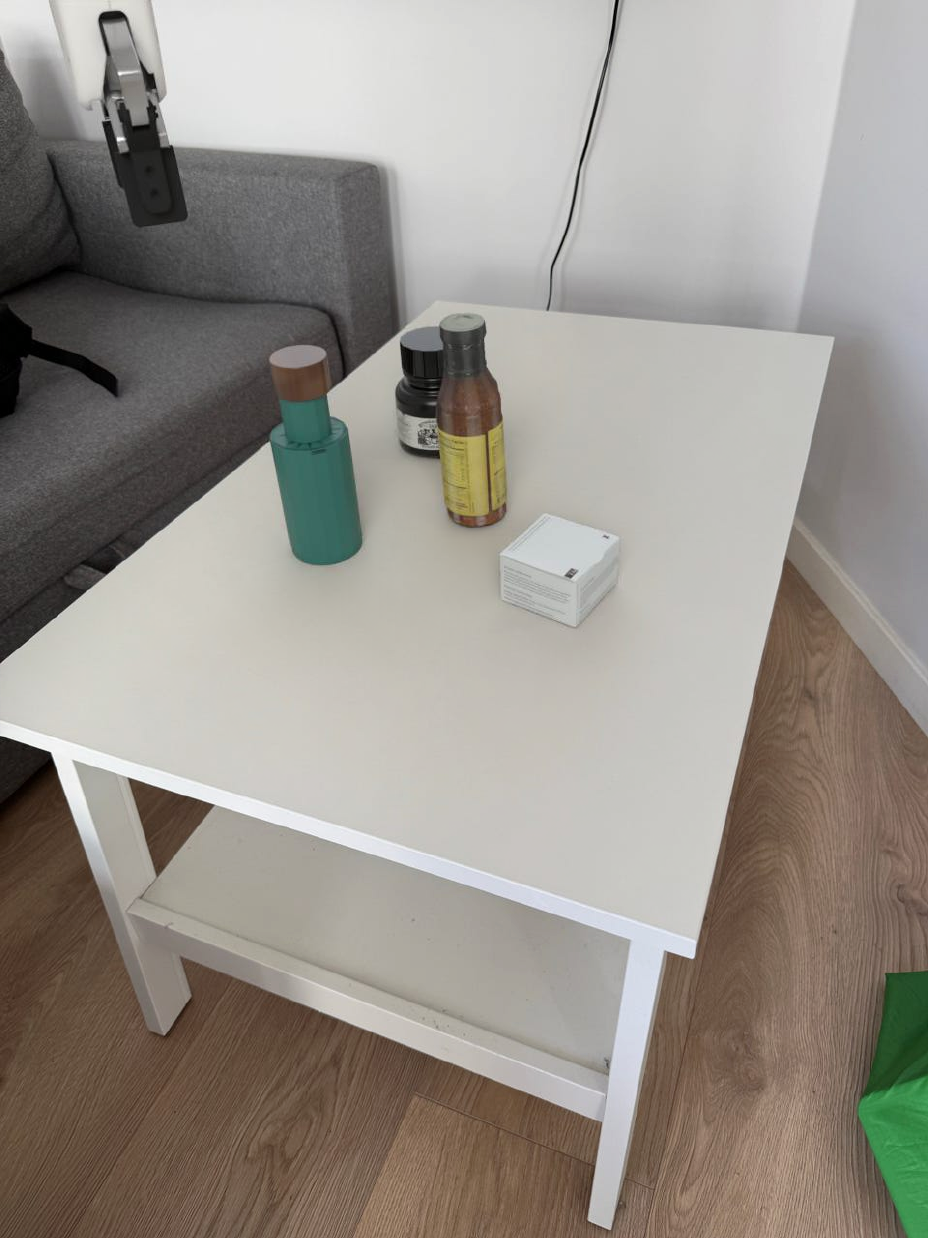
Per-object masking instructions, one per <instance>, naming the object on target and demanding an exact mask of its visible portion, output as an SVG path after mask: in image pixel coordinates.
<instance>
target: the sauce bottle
mask: <svg viewBox="0 0 928 1238" xmlns="http://www.w3.org/2000/svg"><path fill="white" fill-rule="evenodd" d="M486 324H487V323H486V319H485V318H484V317H483V316H482V315H479V314H478V313H477V314H476V313H471V312H464V313H459V312H458V313H452V314H449V315H446V316H445V317H443V318H442V319H441V320H440V322H439V324H438V326H439V328H440V338H441V341H442V342H443V353H444V374H443V379H442V384H441V387H440V390H439V392H438V396H437V405H436V423H437V432H438V441H439V451H440V457H439V461H440V469H441V470H440V471H441V482H442V491H443V492H442V493H443V500H444V505H445V507H446V510H447V515H448V517H449V518H450V519H451V520H452V521H453V522H455V523H456V524H459V525H461V526H464V527H467V528H468V527H469V528H477V527H485V526H490V525H493V524H494V523H497V522H499V521H500V520H501V519H502V518H503V517H504V516H505V514H506V512H507V498H508V489H507V488H508V487H507V471H506V470H507V469H506V454H505V453H506V452H505V451H506V450H505V436H504V435H505V434H504V417H503V416H504V415H503V413H502V398H501V393H500V391H499V386H498V381H497V380H496V379H495V377H494V376H493V375H492V374H493V373H491V371H490V369H489V368H488V366H487V365H488V363H487V359H486V344H485V338H486V335H487V325H486Z"/></svg>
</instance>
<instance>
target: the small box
mask: <svg viewBox="0 0 928 1238" xmlns="http://www.w3.org/2000/svg"><path fill="white" fill-rule="evenodd" d="M621 542H622V538H621V537H620V536H618V535H616V534H613V533H610V532H608V531H604V530H601V529H598V528H595V527H591V526H588V525H584V524H582V523H578V522H575V521H572V520H569V519H565V518H562V517H559V516H557V515H553V514H550V513H547V512H544V513H542V514H541V515H540V516H539V517H538V518H537V519H536V520H535V521H534V522H532V524H530V526H528V527H527V528H526V529H525V530H524V531H523V532H522V533H521V534H520V535H518V536H517V537H516V539H514V540H513V541H512V542H511V543H510V544H509V545H508V546H507V547H505V548H504V549H503V550H502V551H501V552H500V553H499V554H498V555H499V591H500V592H499V593H500V594H499V595H500V600H501V601H503V602H506V603H509V604H511V605H513V606H516V607H518V608H521V609H524V610H527V611H529V612H532V613H535V614H537V615H539V616H543V617H545V618H548V619H550V620H553V621H556V622H558V623H561V624H563V625H566V626H567V627H568V626H569V627H572V628H577V627H578V626H579V625H580V623H582V622H583V620H584V619H586V617H587V616H588V615H589V614H590V613H591V612H592V611H593V609H595V607H596V606H597V605H598V604H599V603H600V602H601V601H602V600H603V598H604V597H605V596H606V595H607V594H608V593H609V592H610V591H611V590H612V589H613V587H614V586H615V585H616V584H617V583H618V577H619V568H620V567H619V566H620V555H621Z"/></svg>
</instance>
